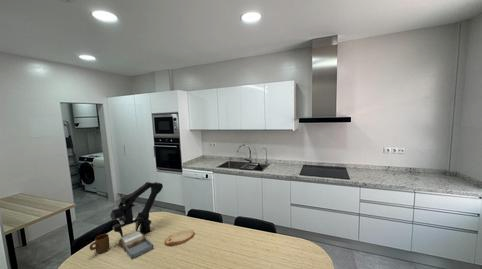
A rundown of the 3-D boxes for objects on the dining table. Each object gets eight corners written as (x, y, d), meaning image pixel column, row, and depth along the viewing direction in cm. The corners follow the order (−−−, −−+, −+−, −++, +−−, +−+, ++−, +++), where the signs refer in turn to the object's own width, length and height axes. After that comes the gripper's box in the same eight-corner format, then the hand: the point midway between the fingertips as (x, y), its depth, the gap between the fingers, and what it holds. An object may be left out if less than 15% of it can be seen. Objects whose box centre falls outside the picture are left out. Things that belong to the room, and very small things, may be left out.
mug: (95, 259, 122) (94, 245, 121) (86, 257, 124) (85, 243, 123) (112, 247, 133) (111, 234, 133) (103, 245, 135) (102, 232, 135)
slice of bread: (196, 232, 150) (196, 227, 149) (187, 247, 132) (186, 242, 131) (174, 231, 152) (174, 226, 151) (162, 246, 134) (161, 241, 134)
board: (140, 235, 147) (140, 231, 147) (146, 241, 139) (146, 237, 139) (119, 243, 137) (119, 239, 137) (125, 251, 129) (124, 247, 129)
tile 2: (140, 235, 141) (140, 233, 141) (142, 237, 139) (142, 235, 138) (123, 242, 133) (123, 240, 133) (125, 245, 131) (125, 242, 130)
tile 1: (138, 233, 145) (137, 230, 145) (140, 235, 142) (139, 232, 142) (121, 240, 137) (121, 237, 136) (123, 242, 134) (123, 239, 134)
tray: (146, 241, 139) (146, 237, 139) (153, 248, 131) (153, 244, 131) (125, 251, 129) (125, 247, 129) (131, 259, 121) (131, 255, 121)
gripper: (137, 206, 152) (139, 225, 153) (109, 215, 139) (111, 236, 140) (143, 210, 145) (144, 230, 146) (114, 220, 131) (115, 242, 132)
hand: (129, 234), depth 141 cm, fingers open, 9 cm apart
